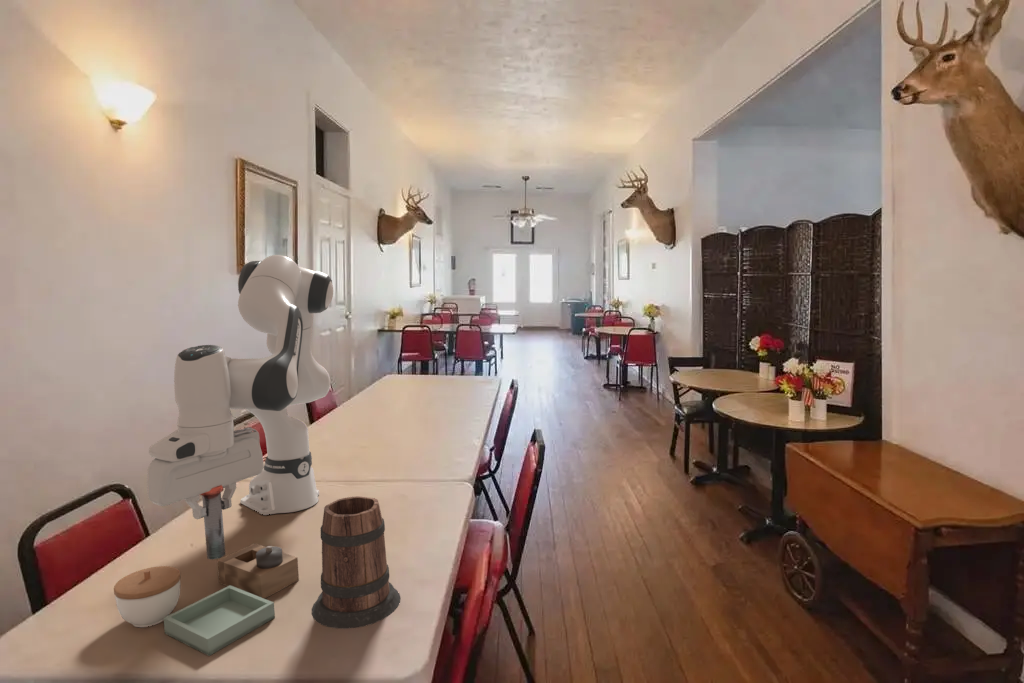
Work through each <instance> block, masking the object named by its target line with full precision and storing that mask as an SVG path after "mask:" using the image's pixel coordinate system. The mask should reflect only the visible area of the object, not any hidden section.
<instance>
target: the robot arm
mask: <svg viewBox="0 0 1024 683" xmlns="http://www.w3.org/2000/svg"><path fill="white" fill-rule="evenodd" d="M237 286H238V293H239V296H238V301H237V303H238V304H237V306H238V311H239V314H240V315H241V317H242V319H243V320H244V322H245V323H246V324H247V325H249V326H250V327H251V328H252V329H254V330H256V331H258V332H261V333H263V334H266V335H267V336H266V347H267V350H268V351H269V352H270V354H271V355H269V356H266V357H262V358H231V357H230V356H229V357H228V356H227V355H226V354H225V351H224V348H223V347H221V346H220V345H215V344H204V345H203V344H202V345H197V346H191V347H188V348H186V349H183V350H182V351H180V352H178V354H176V358H175V362H174V363H175V364H174V376H173V377H174V378H173V379H174V380H173V382H174V384H173V386H174V400H175V403H176V405H177V406H176V407H177V409H178V417H177V418H178V419H177V423H176V425H177V429H176V430H175V431H173V432H172V433H170V434H168V435H166V436H165V437H163V438H162V439H160V440H158V441H156V442H154V443H153V444H151V445H150V446H149V448H148V454H149V457H151V458H154V459H153V460H152V461H150V462H149V465H148V469H147V475H146V476H147V478H146V479H147V480H146V486H147V487H146V488H147V497H148V500H149V501H150V502H151V503H153V505H157V506H160V507H166V506H169V505H172V504H175V503H178V502H181V501H185V503H186V504H187V505H188V506H189V507H190V508H191V509H192V510H191V511H192V517H193V519H196V520H200V519H204V517H205V516H206V515H207V513H206V507H203V505H200V504H199V503H198V502H199V501H200V495H199V494H202V493H205V492H208V491H210V490H211V489H212V488H214V487H217V486H220V485H222V486H223V489H224V490H223V494H222V495H221V503H222V511H224V510H227V509H230V508H232V498H233V496H234V494H235V491H236V489H237V482H240V481H243V480H246V479H249V478H252V479H251V480H250V482H249V485H248V494H246V495H245V496H243V497H242V498H240V504H242V505H243V506H245V507H247V508H249V509H250V510H253V511H254V510H255V512H256V511H257V513H258V512H259V513H258V514H260V515H262V514H263V516H267V515H269V514H270V515H274V514H288V513H294V512H299V511H303V510H306V509H309V508H311V507H313V506H314V505H316V504H317V503H318V502H319V495H320V490H319V489H318V488H317V483H316V477H315V471H314V468H313V467H312V465H313V460H312V459H313V456H312V452H311V451H310V440H309V439H310V437H309V428H308V426H307V424H306V422H304V421H303V420H301V419H299V418H297V417H293V416H290V415H289V413H288V410H287V408H288V407H290V406H295V405H296V406H297V405H301V404H309V403H312V402H314V401H317V400H320V399H322V398H325V397H326V396H327V395H328V393H329V391H330V388H331V380H332V379H331V377H330V376H331V375H330V374H329V371H327V369H326V368H325V367H324V366H323V365H321V363H320V364H319V362H317V360H316V359H315V357H314V355H313V351H312V335H313V334H312V333H313V324H314V314H321V313H323V312H325V311H327V309H328V308H329V306H330V304H331V303H332V300H333V297H334V286H333V280H332V278H331V277H330V275H329V274H327V273H324V272H322V271H321V270H316V271H315V270H312V269H309V268H305V267H304V266H303V267H302V266H299V265H298V264H297V263H296V261H294V260H293V259H291V258H290V257H288V256H286V255H282V254H272V255H270V256H269V255H268V256H267V257H265V258H264V259H263V260H251V261H248V262H247V263H245V264H244V265H243V266H242V268H241V270H240V273H239V275H238V280H237ZM231 410H246V411H248V412H249V413H251V414H252V415H254V417H256V419H257V420H258V421H259V423H260V425H261V426H262V429H263V432H264V436H265V445H266V452H267V453H266V454H267V455H266V456H264V457H263V451H262V449H261V444H260V433H259V431H258V430H257V429H255V428H252V426H247V427H244V428H240V429H236V430H235V428H234V417H233V413H232V412H231Z"/></svg>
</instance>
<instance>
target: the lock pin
mask: <svg viewBox="0 0 1024 683" xmlns="http://www.w3.org/2000/svg"><path fill="white" fill-rule="evenodd" d="M224 490H225V488H223V486H222V485H220V486H217V487H214V488H212V489H211V490H210V491H208V492H205V493H202V494H199V496H201V497H202V507H206V513H207V515H206V516H205V517H203V523H204V524H203V526H204V534H205V535H204V537H205V547H206V548H205V549H206V557H207V559H208V560H218V559H221V558H223V557H225V556H226V545H225V544H226V543H225V532H224V531H225V530H224V518H223V510H222V503H221V498H222V492H224Z"/></svg>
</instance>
